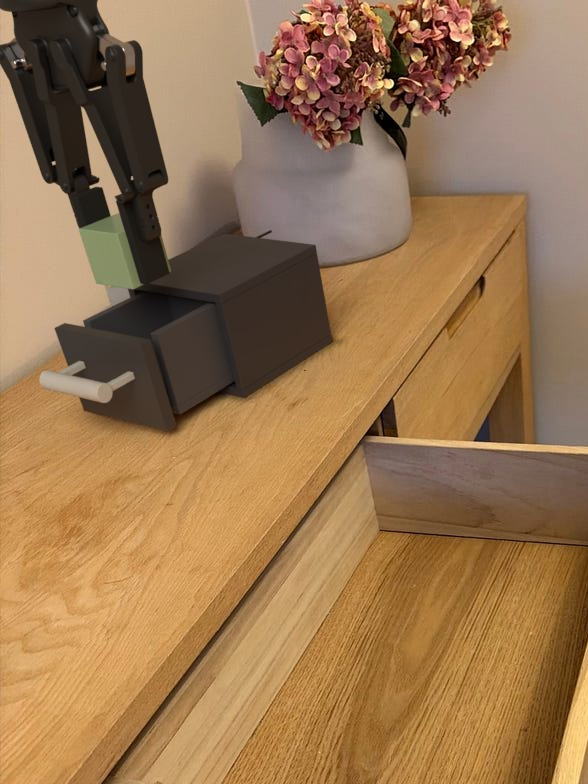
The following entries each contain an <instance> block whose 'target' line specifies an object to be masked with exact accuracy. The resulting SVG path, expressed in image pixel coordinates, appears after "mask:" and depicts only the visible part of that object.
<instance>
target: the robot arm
mask: <svg viewBox="0 0 588 784" xmlns="http://www.w3.org/2000/svg"><path fill="white" fill-rule="evenodd" d="M98 1H99V0H0V10H2V11H4V12H8V13H11V15H12V21H13V35H14V38H13V39H12V40H11V41H9V42H6V43H1V44H0V66H1V69H2V70H3V72H4V73H5V76H6V77H7V79H8V81H9V85H10V86H11V90H12V93H13V96H14V99H15V101H16V104H17V108H18V111H19V113H20V116H21V119H22V122H23V125H24V128H25V131H26V133H27V137H28V139H29V142H30V145H31V148H32V152H33V154H34V157H35V160H36V163H37V166H38V168H39V171H40V174H41V177H42V179H43V181H44V182H45V183H46V184H48V185H51V184H55V185H57V186H59V187H60V189H61V191H62V192H63V193H64V194H65V195H67V196H68V200H69V204H70V205H71V210H72V212H73V214H74V215H73V216H74V218H75V222H76V225H77V227H78V230H79V229H80V228H82V227H85V226H87V225H90V224H92V223H95V222H97V221H100V220H102V219H105V218H107V217H110V216H112V215H111V212H110V207H109V205H108V202H107V201H108V200H107V198H106V195H105V192H104V188H103V187H102V186H94V185H96V184H98V183H99V182H100V177H98V176H96V175H94V174H92V168H91V163H90V162H91V161H90V154H89V149H88V142H87V137H86V129H85V122H84V115H83V110H82V109H84V112H85V114H86V116H87V119H88V120H89V123H90V126H91V127H92V130H93V132H94V134H95V136H96V139H97V141H98V143H99V146H100V148H101V150H102V152H103V155H104V157H105V159H106V162H107V164H108V166H109V168H110V171H111V173H112V175H113V178H114V180H115V183H116V185H117V187H118V189H119V192H120V193H119V194H117V195H114V198H115V203H116V207H117V211H118V213H119V214H120V217H121V220H122V224H123V227H124V230H125V233H126V236H127V240H128V243H129V247H130V250H131V253H132V257H133V260H134V263H135V267H136V270H137V274H138V277H139V280H140V283H141V284H149V283H151V282H153V281H155V280H157V279H159V278H161V277H163V276H165V275H167V274H169V269H168V265H167V262H166V258H165V255H164V251H163V247H162V244H161V240H160V236H161V235H162V227H161V223H160V219H159V217H158V213H157V208H156V205H155V202H154V198H153V196H154V195H153V194H154V191H155V190H158V189H159V188H161V187H163V186H167V184H168V183H169V175H168V171H167V167H166V163H165V159H164V154H163V151H162V147H161V142H160V139H159V135H158V130H157V127H156V123H155V120H154V115H153V111H152V109H151V108H152V107H151V103H150V99H149V95H148V91H147V87H146V84H145V79H144V53H143V48H142V46H141V45H140V43H139V41H137V40H134V39H132V40H128V41H121V40H120V39H118V38H116V37H115V36H113V35H111V34H110V31H109V28H108V26H107V24H106V23H105V21H104V19H103V17H102V16H101V13H100V11H99V8H98ZM95 88H96V89H95ZM53 162H54V164H53ZM91 186H93V187H91Z"/></svg>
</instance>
